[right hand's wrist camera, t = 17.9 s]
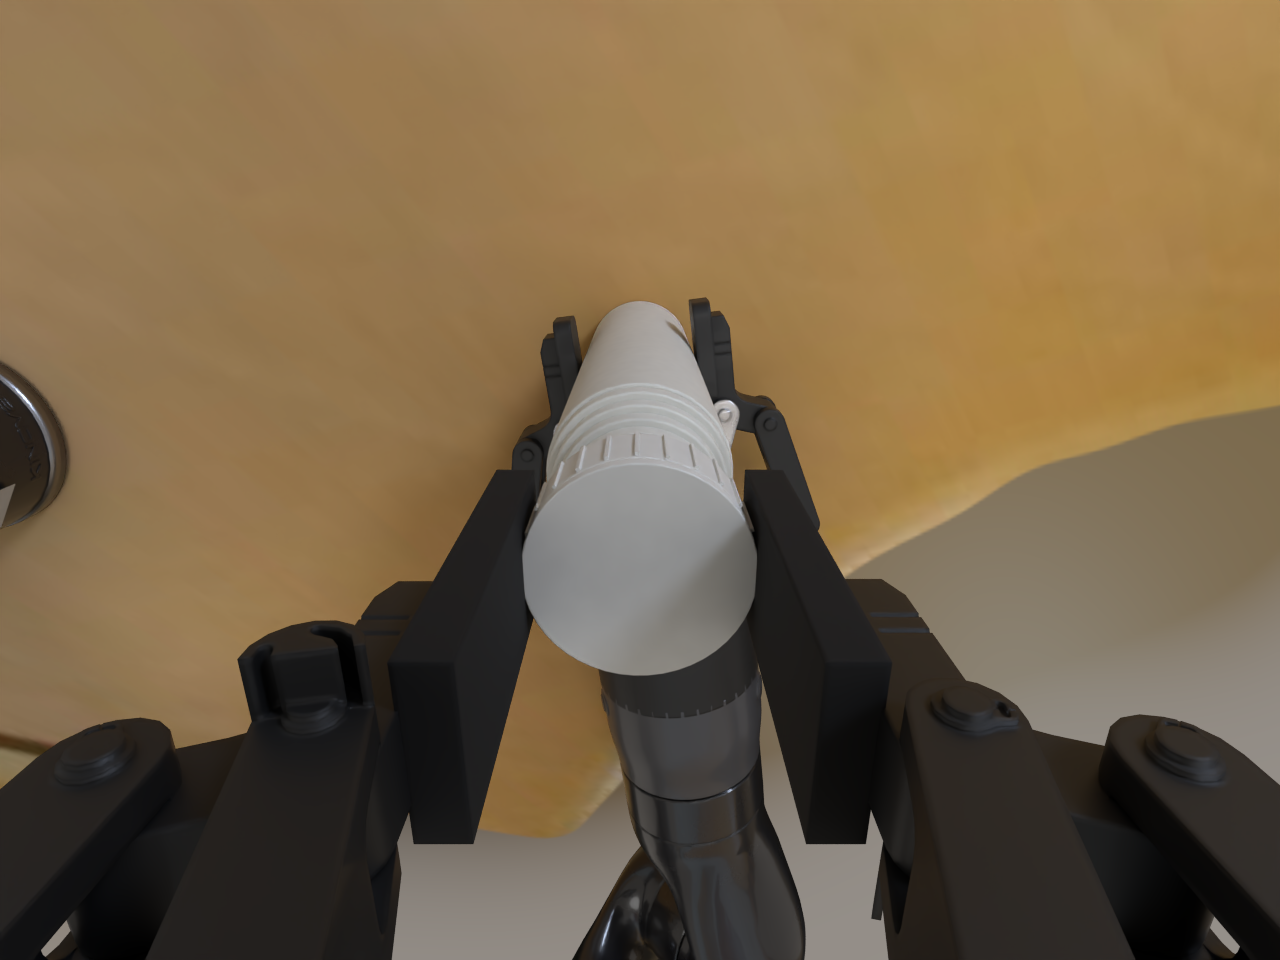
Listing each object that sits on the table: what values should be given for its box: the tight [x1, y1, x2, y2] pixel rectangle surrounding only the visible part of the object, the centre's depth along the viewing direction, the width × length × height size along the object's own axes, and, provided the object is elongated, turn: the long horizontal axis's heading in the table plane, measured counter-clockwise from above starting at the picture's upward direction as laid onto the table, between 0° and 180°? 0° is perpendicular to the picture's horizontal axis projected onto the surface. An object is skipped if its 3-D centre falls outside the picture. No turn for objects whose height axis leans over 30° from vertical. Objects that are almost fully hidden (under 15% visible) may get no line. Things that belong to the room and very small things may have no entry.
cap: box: [522, 431, 757, 675], centre depth 14 cm, size 4×4×2 cm
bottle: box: [546, 301, 733, 483], centre depth 24 cm, size 5×5×23 cm
